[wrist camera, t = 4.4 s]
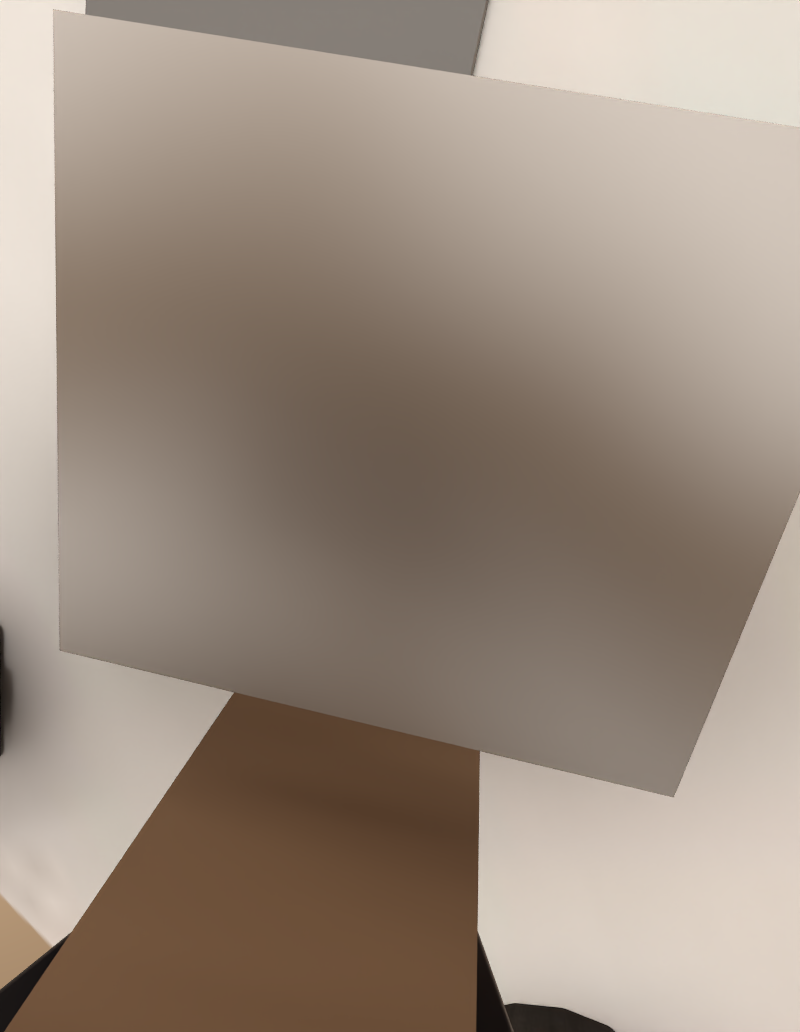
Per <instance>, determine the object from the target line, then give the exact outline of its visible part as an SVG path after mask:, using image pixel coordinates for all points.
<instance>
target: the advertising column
mask: <svg viewBox="0 0 800 1032" xmlns="http://www.w3.org/2000/svg"><path fill="white" fill-rule="evenodd" d="M505 1009H506V1012H507V1015H508V1018H509V1021H510V1023H511V1026H512V1029H513V1032H615V1031H613V1030H612V1029H611V1028H610V1027H608V1026H606V1025H603V1024H601V1023H598V1022H596V1021H593V1020H591V1019H588V1018H586V1017H583V1016H581V1015H578V1014H576V1013H573V1012H570V1011H568V1010H565V1009H560V1008H551V1007H541V1006H531V1005H522V1004H511V1005H506V1006H505Z"/></svg>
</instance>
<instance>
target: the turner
mask: <svg viewBox="0 0 800 1032" xmlns="http://www.w3.org/2000/svg"><path fill="white" fill-rule="evenodd" d="M53 46H54V144H55V242H56V341H57V439H58V537H59V635H60V651H64V652H68V653H72V654H77V655H81V656H85V657H89V658H93V659H98V660H102V661H106V662H110V663H114V664H118V665H123V666H127V667H131V668H135V669H139V670H144V671H148V672H152V673H156V674H160V675H164V676H169V677H173V678H177V679H181V680H185V681H189V682H194V683H198V684H202V685H206V686H210V687H215V688H219V689H223V690H227V691H231V692H234V694H233V695H232V696H231V698H230V699H229V701H228V702H227V704H226V705H225V707H224V708H223V710H222V711H221V713H220V714H219V716H218V717H217V719H216V720H215V722H214V723H213V724H212V726H211V727H210V729H209V730H208V732H207V733H206V735H205V736H204V738H203V739H202V741H201V742H200V744H199V745H198V747H197V748H196V750H195V751H194V752H193V754H192V755H191V757H190V758H189V760H188V761H187V763H186V764H185V766H184V767H183V769H182V770H181V772H180V773H179V775H178V776H177V778H176V779H175V780H174V782H173V783H172V785H171V786H170V788H169V789H168V791H167V792H166V794H165V795H164V797H163V798H162V800H161V801H160V803H159V804H158V806H157V807H156V809H155V810H154V811H153V813H152V814H151V816H150V817H149V819H148V820H147V822H146V823H145V825H144V826H143V828H142V829H141V831H140V832H139V834H138V835H137V837H136V838H135V839H134V841H133V842H132V844H131V845H130V847H129V848H128V850H127V851H126V853H125V854H124V856H123V857H122V859H121V860H120V862H119V863H118V865H117V866H116V867H115V869H114V870H113V872H112V873H111V875H110V876H109V878H108V879H107V881H106V882H105V884H104V885H103V887H102V888H101V890H100V891H99V893H98V894H97V895H96V897H95V898H94V900H93V901H92V903H91V904H90V906H89V907H88V909H87V910H86V912H85V913H84V915H83V916H82V918H81V919H80V921H79V922H78V924H77V925H76V926H75V928H74V929H73V931H72V932H71V934H70V935H69V937H68V938H67V940H66V941H65V943H64V944H63V946H62V947H61V949H60V950H59V952H58V953H57V954H56V956H55V957H54V959H53V960H52V962H51V963H50V965H49V966H48V968H47V969H46V971H45V972H44V974H43V975H42V977H41V978H40V980H39V981H38V982H37V984H36V985H35V987H34V988H33V990H32V991H31V993H30V994H29V996H28V997H27V999H26V1000H25V1002H24V1003H23V1005H22V1006H21V1008H20V1009H19V1010H18V1012H17V1013H16V1015H15V1016H14V1018H13V1019H12V1021H11V1022H10V1024H9V1025H8V1027H7V1028H6V1030H5V1031H4V1032H476V1001H477V923H478V844H479V765H480V751H482V752H486V753H490V754H495V755H499V756H503V757H507V758H511V759H515V760H520V761H524V762H528V763H532V764H536V765H541V766H545V767H549V768H553V769H557V770H561V771H566V772H570V773H574V774H578V775H582V776H587V777H591V778H595V779H599V780H603V781H607V782H612V783H616V784H620V785H624V786H628V787H633V788H637V789H641V790H645V791H649V792H653V793H658V794H662V795H666V796H670V797H674V795H675V793H676V791H677V788H678V786H679V783H680V781H681V778H682V776H683V774H684V771H685V769H686V766H687V764H688V762H689V759H690V757H691V754H692V752H693V749H694V747H695V745H696V742H697V740H698V737H699V735H700V732H701V730H702V728H703V725H704V723H705V720H706V718H707V716H708V713H709V711H710V708H711V706H712V703H713V701H714V699H715V696H716V694H717V691H718V689H719V687H720V684H721V682H722V679H723V677H724V674H725V672H726V670H727V667H728V665H729V662H730V660H731V658H732V655H733V653H734V650H735V648H736V645H737V643H738V641H739V638H740V636H741V633H742V631H743V628H744V626H745V624H746V621H747V619H748V616H749V614H750V612H751V609H752V607H753V604H754V602H755V599H756V597H757V595H758V592H759V590H760V587H761V585H762V583H763V580H764V578H765V575H766V573H767V570H768V568H769V566H770V563H771V561H772V558H773V556H774V554H775V551H776V549H777V546H778V544H779V541H780V539H781V537H782V534H783V532H784V529H785V527H786V524H787V522H788V520H789V517H790V515H791V512H792V510H793V508H794V505H795V503H796V500H797V498H798V495H799V493H800V128H799V127H793V126H787V125H780V124H774V123H768V122H761V121H755V120H749V119H742V118H736V117H730V116H724V115H717V114H711V113H705V112H698V111H692V110H686V109H679V108H673V107H667V106H660V105H654V104H648V103H641V102H635V101H629V100H622V99H616V98H610V97H603V96H597V95H591V94H585V93H578V92H572V91H566V90H559V89H553V88H547V87H540V86H534V85H528V84H521V83H515V82H509V81H502V80H496V79H490V78H483V77H477V76H471V75H464V74H458V73H452V72H446V71H439V70H433V69H427V68H420V67H414V66H408V65H401V64H395V63H389V62H382V61H376V60H370V59H363V58H357V57H351V56H344V55H338V54H332V53H325V52H319V51H313V50H307V49H300V48H294V47H288V46H281V45H275V44H269V43H262V42H256V41H250V40H243V39H237V38H231V37H224V36H218V35H212V34H205V33H199V32H193V31H186V30H180V29H174V28H168V27H161V26H155V25H149V24H142V23H136V22H130V21H123V20H117V19H111V18H104V17H98V16H92V15H85V14H79V13H73V12H66V11H60V10H54V9H53Z"/></svg>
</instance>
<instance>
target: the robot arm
mask: <svg viewBox="0 0 800 1032" xmlns="http://www.w3.org/2000/svg"><path fill="white" fill-rule="evenodd" d="M0 755H1V716H0ZM70 934H71V933H70ZM70 934H69V935H70ZM69 935H67V936H66V937H65V938H64V939H62V940H61V941H60V942H59V943H57V944H56V945H55V946H54V947H52V948H51V949H50V950H49V951H48V952H46V953H45V954H44V955H43V956H41V957H40V958H39V959H38V960H36V961H35V962H34V963H33V964H31V965H30V966H29V967H28V968H27V969H25V970H24V971H23V972H22V973H20V974H19V975H18V976H17V977H15V978H14V979H13V980H12V981H10V982H9V983H8V984H7V985H5V986H4V987H3V988H2V989H1V990H0V1032H4V1031H5V1030H6V1028H7V1027H8V1025H9V1024H10V1022H11V1021H12V1019H13V1018H14V1016H15V1015H16V1013H17V1012H18V1010H19V1009H20V1008H21V1006H22V1005H23V1003H24V1002H25V1000H26V999H27V997H28V996H29V994H30V993H31V991H32V990H33V988H34V987H35V985H36V984H37V982H38V981H39V980H40V978H41V977H42V975H43V974H44V972H45V971H46V969H47V968H48V966H49V965H50V963H51V962H52V960H53V959H54V957H55V956H56V954H57V953H58V952H59V950H60V949H61V947H62V946H63V944H64V943H65V941H66V940H67V938H68V937H69ZM476 1032H513V1029H512V1026H511V1023H510V1021H509V1018H508V1015H507V1012H506V1009H505V1006H504V1004H503V1001H502V998H501V995H500V992H499V990H498V987H497V984H496V981H495V978H494V976H493V973H492V970H491V967H490V964H489V962H488V959H487V956H486V953H485V950H484V947H483V945H482V942H481V939H480V936H479V934H478V931H477V1001H476Z"/></svg>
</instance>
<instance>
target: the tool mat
mask: <svg viewBox="0 0 800 1032" xmlns="http://www.w3.org/2000/svg"><path fill="white" fill-rule="evenodd" d="M488 1H489V0H86V13H85V15H92V16H98V17H104V18H111V19H117V20H123V21H130V22H136V23H142V24H149V25H155V26H161V27H168V28H174V29H180V30H186V31H193V32H199V33H205V34H212V35H218V36H224V37H231V38H237V39H243V40H250V41H256V42H262V43H269V44H275V45H281V46H288V47H294V48H300V49H307V50H313V51H319V52H325V53H332V54H338V55H344V56H351V57H357V58H363V59H370V60H376V61H382V62H389V63H395V64H401V65H408V66H414V67H420V68H427V69H433V70H439V71H446V72H452V73H458V74H464V75H471V76H472V75H473V71H474V66H475V61H476V57H477V52H478V47H479V43H480V38H481V33H482V29H483V24H484V19H485V15H486V10H487V6H488Z"/></svg>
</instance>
